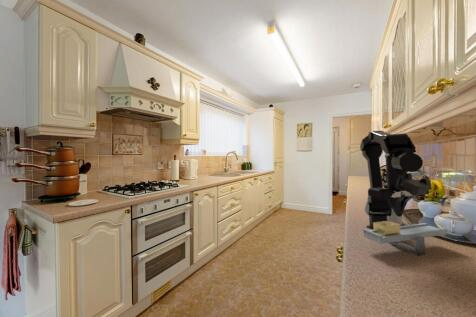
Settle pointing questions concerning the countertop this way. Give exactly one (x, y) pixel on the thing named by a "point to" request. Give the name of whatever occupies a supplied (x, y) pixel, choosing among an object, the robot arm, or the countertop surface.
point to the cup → (395, 218)
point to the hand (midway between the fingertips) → (399, 216)
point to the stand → (417, 250)
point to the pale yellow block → (386, 228)
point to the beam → (406, 233)
